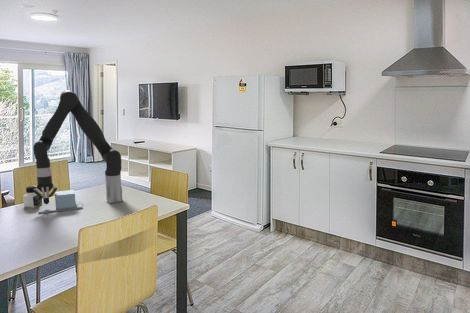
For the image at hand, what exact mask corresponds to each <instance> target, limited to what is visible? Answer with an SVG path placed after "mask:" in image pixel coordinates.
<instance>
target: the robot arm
mask: <svg viewBox="0 0 470 313" xmlns="http://www.w3.org/2000/svg"><path fill="white" fill-rule="evenodd" d="M59 95H60V96H59V102H58V105H57V108H56V110H55V112H54V113H53V115H52V116H51V117H50V119H49V120H48V122H46V125H45V126H44V128H43V130H42V132H41V136H40V138H39V140H38V141H36V142H35V143H34V144H33V147H32V148H33V153H34V158H35V165H36V181H37V183H36V186H37V188H35V189H34V190H33V192H34V193H35V194H37V195H38V196H39V197H40V198H42V202H43V204H44V205H49V203H50V198H52V197H53V196H54V195H55V192H57V190H58V187H57V186H55V185H54V184H53V177H52V168H51V160H50V157H49V156H48V151H49V150H50V148H51V146H52V144H53V143H54V139H55V138H56V136H57V134H58V133H59V131H60V129H61V127H62V126H63V124H64V122H65V120H66V118H67V117H68V115H69V114H70V113H71V114H72V115H73V117H74V119H75V120H76V123H77V125H78V126H79V128H80V130H81V131H82V132H83V134H84V135H85V136H86V137H87V139H88V140H89V141H90V143H92V144H93V146H95V148H96V149H97V151H98V153H99V154H100V156H101V158H102V159H103V161H104V163H106V166H105V167H106V170H105V171H104V176H105V178H104V179H105V193H106V196H105V197H106V203H108V204H116V203H121V202H123V186H122V178H121V177H122V176H121V175H122V172H121V171H122V155H121V153H120V152H119V151H118V150H116V149H114V148H113V147H112V146H111V145H110V144H109V142H107V140H106V138H105V135H104V133H103V131H102V129H101V127H100V126H99V124H98V122H96V120H95V119H94V118H93V117H92V115H91V114H90V113H89V112H88V111H87V110H86V108H85V107H84V106H83V104H82V103H81V101H80V100H79V96H78V94H76V92H74V91H72V90H70V89H66V90H64V91H62V92H61V93H60V94H59ZM51 190H52V191H51ZM40 193H41V194H42V195H41V194H40Z"/></svg>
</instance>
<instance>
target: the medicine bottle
mask: <svg viewBox="0 0 470 313" xmlns="http://www.w3.org/2000/svg"><path fill="white" fill-rule="evenodd" d="M35 188H37V185H29V186H27V187H25V190H26V194H24V195H22V199H23V207H24V208H37V207H40V206H42V205H43V198H40V197H39V196H38V195H37V194H35V193H34V192H33V190H34V189H35ZM39 193H40V194H41V195H43V194H42V192H39Z"/></svg>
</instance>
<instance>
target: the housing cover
mask: <svg viewBox="0 0 470 313" xmlns="http://www.w3.org/2000/svg"><path fill="white" fill-rule="evenodd" d="M75 192H76V191H75V189H69V190H60V191H57V190H56V191H55V193H54V198H55V199H54V201H55V205H56V209H64V208H72V207H76V203H75V201H76V193H75Z"/></svg>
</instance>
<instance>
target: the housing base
mask: <svg viewBox="0 0 470 313" xmlns="http://www.w3.org/2000/svg"><path fill="white" fill-rule="evenodd" d="M75 203H76V207H72V208H64V209H56V204H46V205H39V207H38V213H37V214H38V215H40V214H49V213H57V212H58V211H59V212H65V211H67V212H68V211H73V210H81V209H83V202H82V201H76V200H75Z"/></svg>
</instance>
